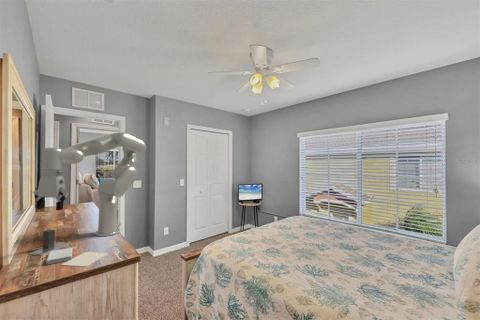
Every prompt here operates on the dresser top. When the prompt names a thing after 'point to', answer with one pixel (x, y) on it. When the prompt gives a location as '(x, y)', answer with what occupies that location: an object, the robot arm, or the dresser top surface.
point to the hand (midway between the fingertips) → (50, 209)
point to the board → (85, 259)
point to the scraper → (49, 243)
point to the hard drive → (59, 255)
